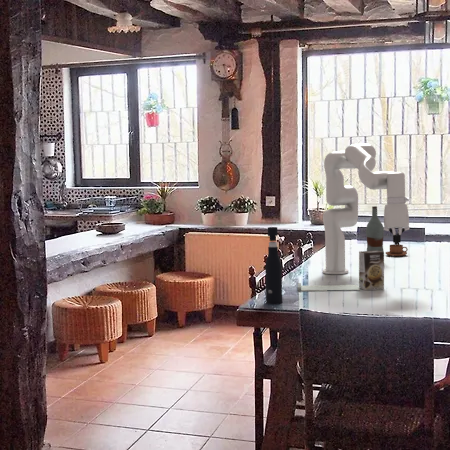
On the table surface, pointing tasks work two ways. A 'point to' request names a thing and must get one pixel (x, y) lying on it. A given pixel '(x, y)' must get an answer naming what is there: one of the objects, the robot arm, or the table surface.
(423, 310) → the table surface
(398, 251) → the cup and saucer
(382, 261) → the coffee box
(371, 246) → the vodka
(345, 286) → the pale green rectangular board
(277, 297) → the wine bottle
